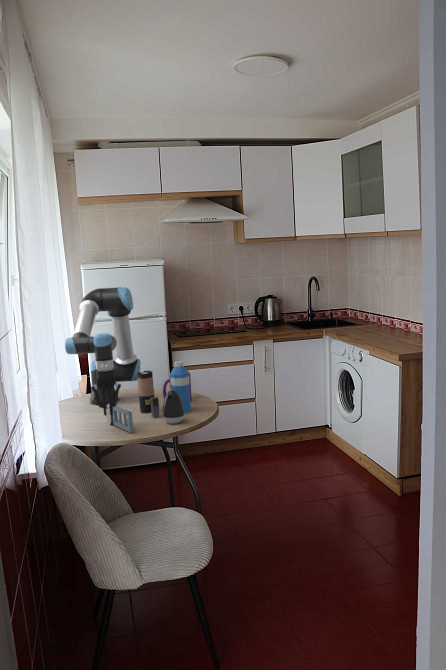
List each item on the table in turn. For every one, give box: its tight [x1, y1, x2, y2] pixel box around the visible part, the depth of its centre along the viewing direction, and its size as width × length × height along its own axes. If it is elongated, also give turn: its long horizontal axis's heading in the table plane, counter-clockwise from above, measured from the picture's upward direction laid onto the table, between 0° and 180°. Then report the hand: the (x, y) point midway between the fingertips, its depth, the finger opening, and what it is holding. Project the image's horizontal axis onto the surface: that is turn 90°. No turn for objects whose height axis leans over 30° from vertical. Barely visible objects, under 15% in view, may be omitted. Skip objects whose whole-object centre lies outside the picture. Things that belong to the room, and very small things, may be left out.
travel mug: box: [137, 370, 155, 414], centre depth 282 cm, size 8×8×20 cm
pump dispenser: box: [162, 389, 185, 425], centre depth 261 cm, size 10×10×15 cm
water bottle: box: [169, 360, 192, 415], centre depth 278 cm, size 9×9×25 cm
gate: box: [113, 405, 134, 433], centre depth 254 cm, size 2×17×9 cm, turn 36°
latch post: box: [145, 396, 160, 419], centre depth 272 cm, size 4×5×10 cm, turn 116°
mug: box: [162, 372, 193, 402], centre depth 297 cm, size 9×16×15 cm, turn 118°
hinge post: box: [107, 403, 115, 426], centre depth 263 cm, size 3×3×10 cm
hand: (109, 422), depth 248 cm, fingers closed
